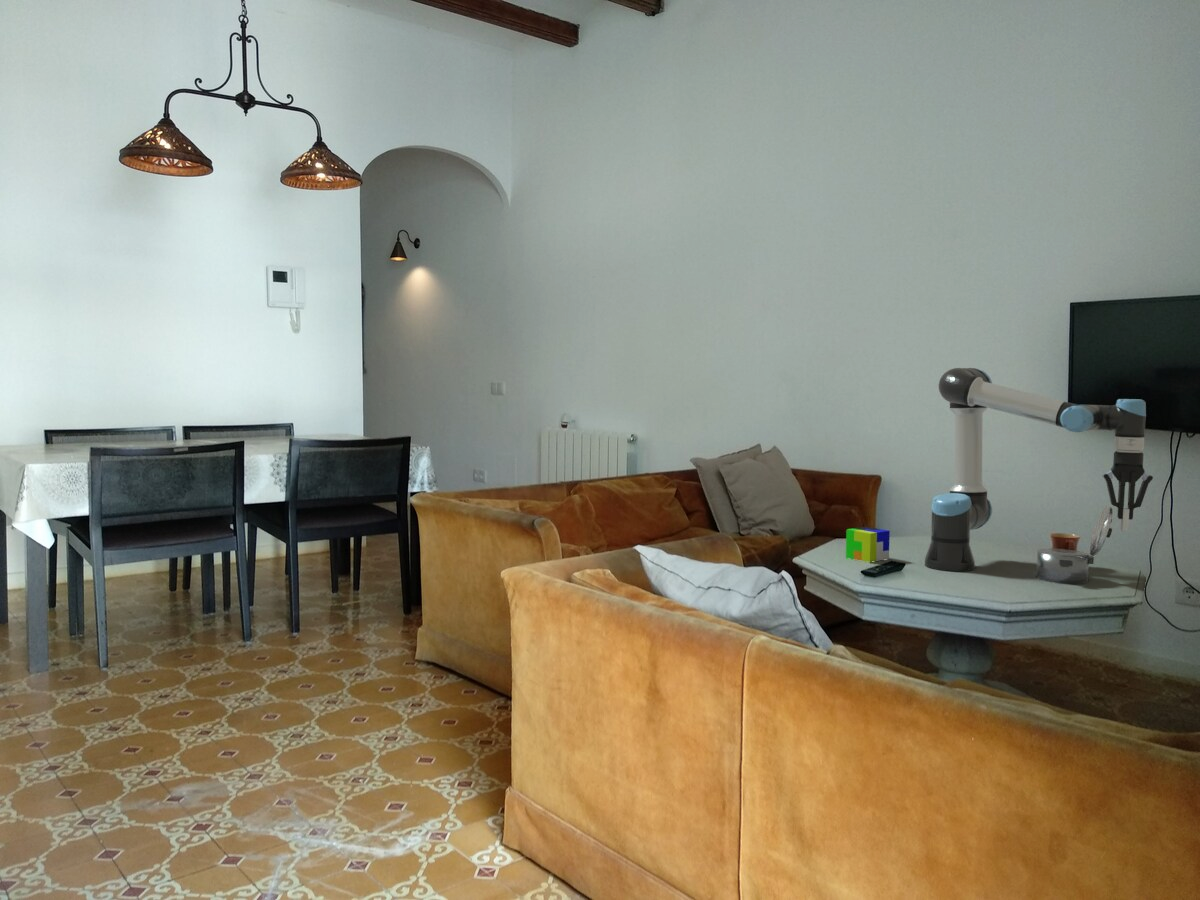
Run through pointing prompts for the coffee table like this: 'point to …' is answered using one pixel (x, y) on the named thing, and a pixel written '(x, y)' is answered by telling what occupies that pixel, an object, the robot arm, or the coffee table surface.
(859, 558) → the puzzle toy
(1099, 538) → the lid
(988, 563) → the coffee table surface
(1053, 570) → the pot
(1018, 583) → the coffee table surface
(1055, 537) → the mug
